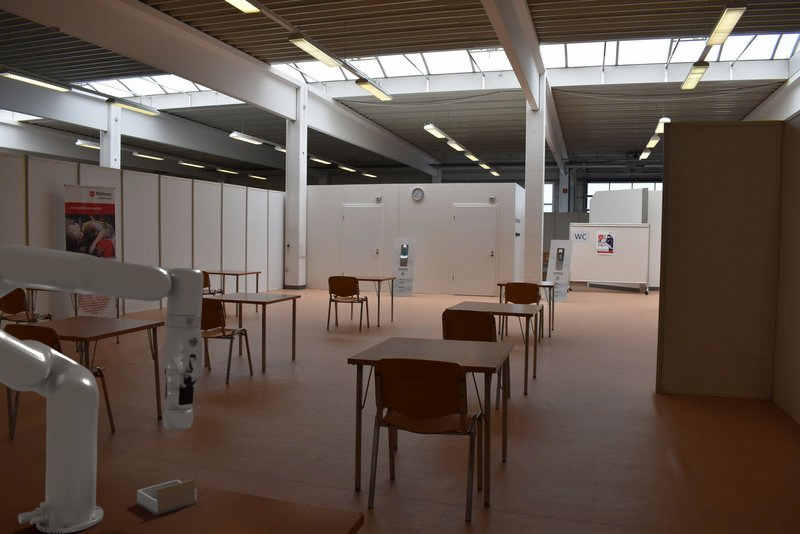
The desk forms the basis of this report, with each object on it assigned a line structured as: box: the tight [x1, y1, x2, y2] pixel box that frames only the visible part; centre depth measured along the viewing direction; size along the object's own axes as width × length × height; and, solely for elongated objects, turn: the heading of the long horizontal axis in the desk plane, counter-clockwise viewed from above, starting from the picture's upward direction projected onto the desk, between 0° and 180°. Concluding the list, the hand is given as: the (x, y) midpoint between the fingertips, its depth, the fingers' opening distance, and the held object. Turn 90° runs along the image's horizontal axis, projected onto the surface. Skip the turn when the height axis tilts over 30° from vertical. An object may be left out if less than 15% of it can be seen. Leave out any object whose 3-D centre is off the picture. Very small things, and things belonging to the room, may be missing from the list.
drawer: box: [136, 478, 198, 516], centre depth 142 cm, size 10×9×6 cm
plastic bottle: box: [162, 358, 194, 431], centre depth 141 cm, size 6×7×20 cm
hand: (178, 400), depth 141 cm, fingers closed on plastic bottle, 5 cm apart
